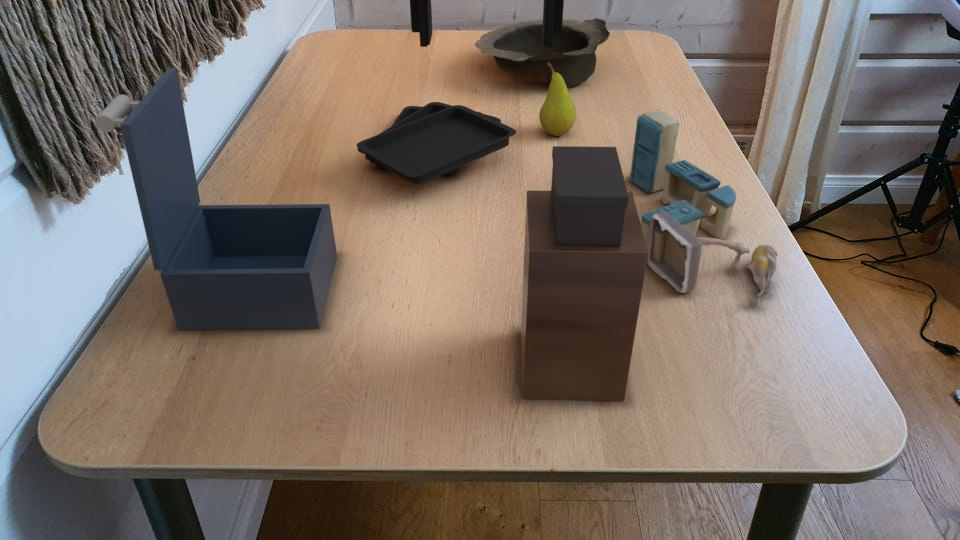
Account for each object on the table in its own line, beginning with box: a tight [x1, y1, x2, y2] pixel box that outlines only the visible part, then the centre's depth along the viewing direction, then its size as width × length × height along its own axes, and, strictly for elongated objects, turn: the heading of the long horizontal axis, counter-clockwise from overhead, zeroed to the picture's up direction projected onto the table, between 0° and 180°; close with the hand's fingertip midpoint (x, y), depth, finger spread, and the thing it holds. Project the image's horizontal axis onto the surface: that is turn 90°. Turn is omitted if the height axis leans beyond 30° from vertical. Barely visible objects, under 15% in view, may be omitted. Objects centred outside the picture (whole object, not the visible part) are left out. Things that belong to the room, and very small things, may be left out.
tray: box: [356, 101, 517, 186], centre depth 111 cm, size 30×23×5 cm
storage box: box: [159, 203, 338, 331], centre depth 84 cm, size 16×14×8 cm
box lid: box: [94, 67, 201, 271], centre depth 77 cm, size 16×14×5 cm
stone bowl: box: [474, 17, 611, 90], centre depth 137 cm, size 25×25×9 cm
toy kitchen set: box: [629, 109, 737, 261], centre depth 96 cm, size 18×14×11 cm
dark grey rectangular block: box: [550, 145, 629, 247], centre depth 64 cm, size 9×6×5 cm, turn 178°
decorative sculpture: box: [647, 212, 778, 307], centre depth 85 cm, size 16×10×7 cm, turn 90°
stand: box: [520, 189, 648, 402], centre depth 71 cm, size 10×10×18 cm
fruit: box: [538, 62, 577, 137], centre depth 116 cm, size 6×6×12 cm
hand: (486, 41), depth 58 cm, fingers open, 9 cm apart
